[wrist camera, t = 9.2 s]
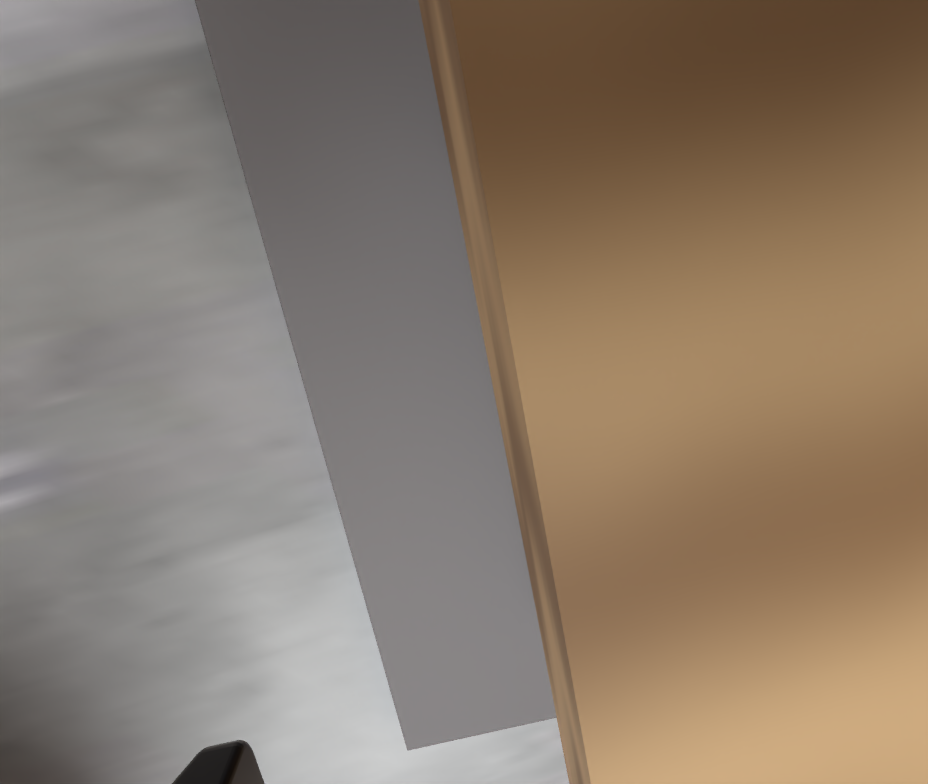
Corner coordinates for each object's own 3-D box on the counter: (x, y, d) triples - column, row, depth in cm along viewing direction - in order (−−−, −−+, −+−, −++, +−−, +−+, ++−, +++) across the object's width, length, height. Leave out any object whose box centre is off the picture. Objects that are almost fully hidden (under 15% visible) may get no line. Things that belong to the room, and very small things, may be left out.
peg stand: (884, 618, 22) (1014, 751, 18) (407, 723, 22) (409, 886, 17) (874, -204, 16) (1079, -343, 11) (186, -63, 15) (96, -143, 11)
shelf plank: (838, 721, 17) (1008, 952, 12) (568, 781, 17) (637, 1037, 12) (807, -120, 12) (1091, -284, 7) (410, -39, 11) (423, -149, 7)
